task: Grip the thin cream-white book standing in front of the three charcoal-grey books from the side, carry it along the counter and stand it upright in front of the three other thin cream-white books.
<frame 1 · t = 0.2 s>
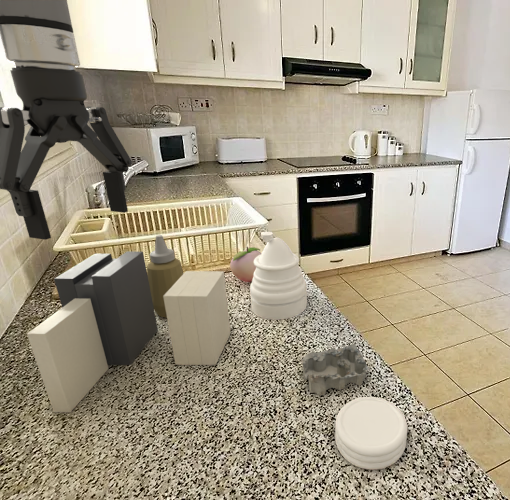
hand: (84, 223, 56), 27 cm above the countertop, tool pointing down, fingers open, 13 cm apart
decorative fruit: (251, 282, 98), on the countertop
squeeze bottle: (172, 312, 84), on the countertop
egg carton: (334, 377, 65), on the countertop
white books: (204, 348, 72), on the countertop
white jar lid: (370, 440, 53), on the countertop
honey pot: (279, 305, 88), on the countertop
grey books: (121, 346, 72), on the countertop
thin white book: (83, 388, 61), on the countertop
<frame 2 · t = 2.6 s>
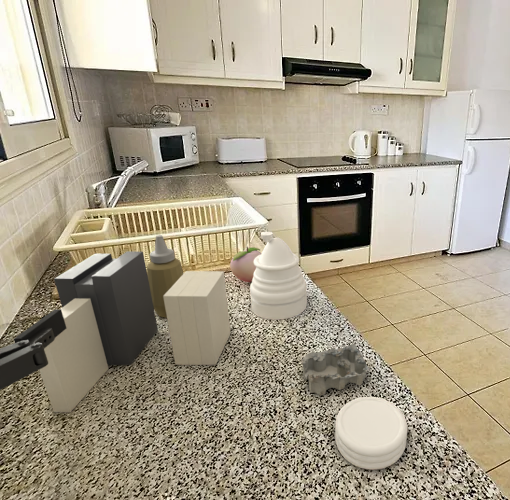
hand: (3, 320, 46), 18 cm above the countertop, tool horizontal, fingers open, 13 cm apart
nothing on the countertop moved.
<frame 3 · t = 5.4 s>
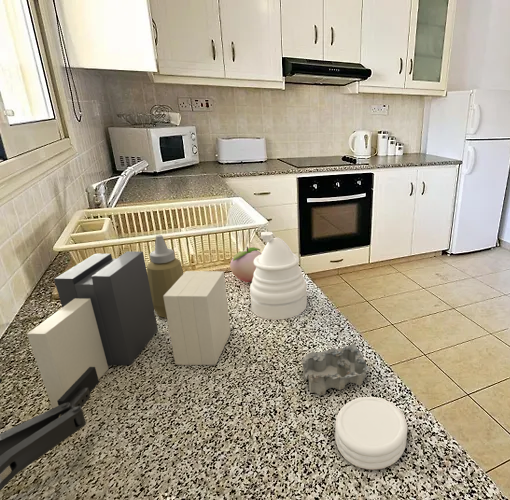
hand: (45, 374, 53), 8 cm above the countertop, tool horizontal, fingers open, 13 cm apart
nothing on the countertop moved.
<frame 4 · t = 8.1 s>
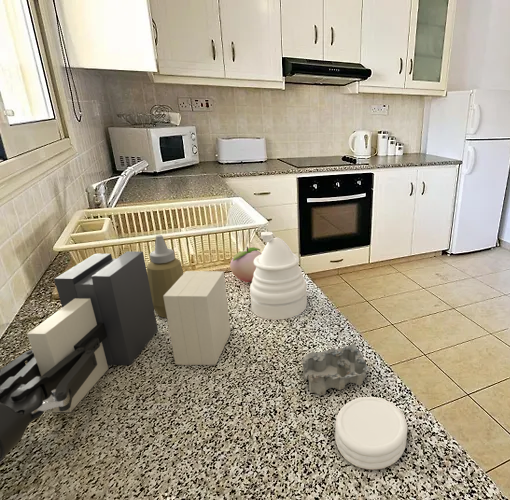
hand: (93, 329, 63), 8 cm above the countertop, tool horizontal, fingers closed on thin white book, 2 cm apart
thin white book: (83, 388, 61), on the countertop, touching gripper
everything else where it was.
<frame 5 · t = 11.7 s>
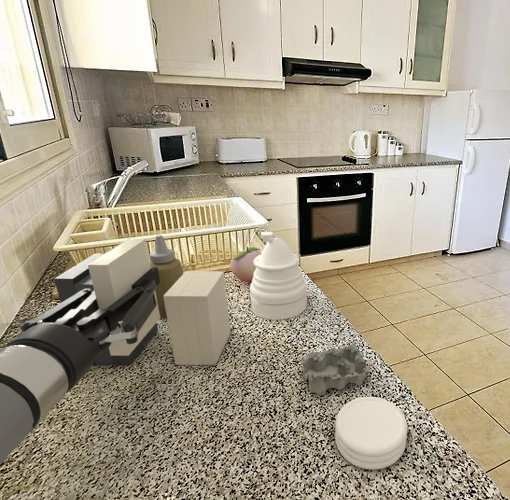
hand: (146, 274, 60), 18 cm above the countertop, tool horizontal, fingers closed on thin white book, 2 cm apart
thin white book: (137, 335, 57), point 10 cm above the countertop, touching gripper
everything else where it was.
when the fingers open (8 cm above the countertop, at t = 15.4 s): thin white book stays where it is, on the countertop.
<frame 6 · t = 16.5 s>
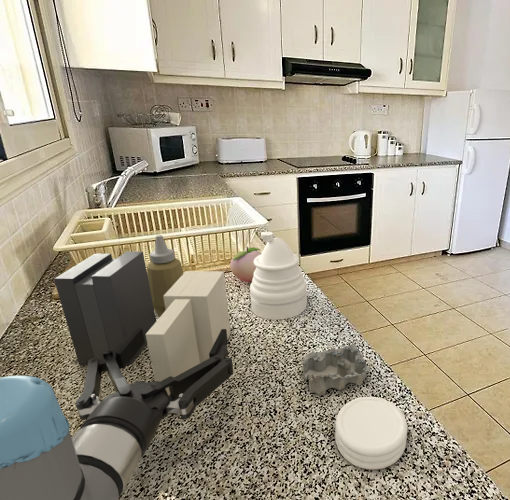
hand: (183, 335, 61), 8 cm above the countertop, tool horizontal, fingers open, 13 cm apart
thin white book: (182, 388, 61), on the countertop
everything else where it was.
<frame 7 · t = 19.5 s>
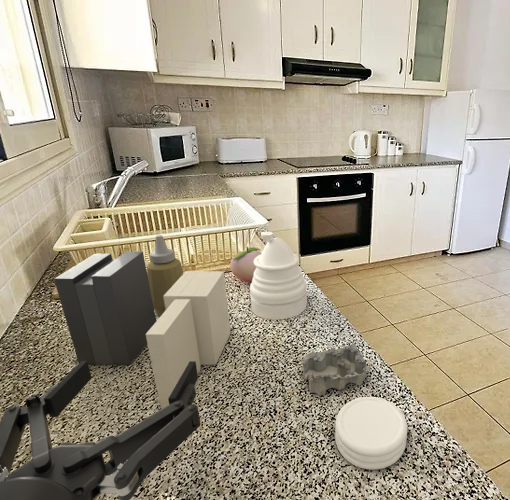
hand: (140, 369, 48), 12 cm above the countertop, tool horizontal, fingers open, 13 cm apart
nothing on the countertop moved.
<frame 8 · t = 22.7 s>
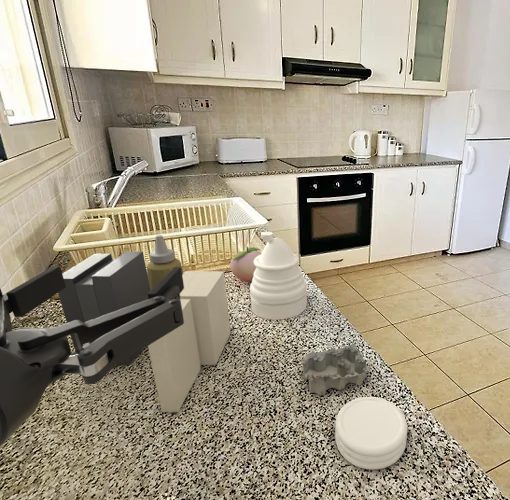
hand: (120, 277, 43), 25 cm above the countertop, tool horizontal, fingers open, 13 cm apart
nothing on the countertop moved.
at the end: thin white book 0.1 cm from the target spot on the countertop beside the white books, on the countertop; thin white book tilted 0°; the gripper is holding nothing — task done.
